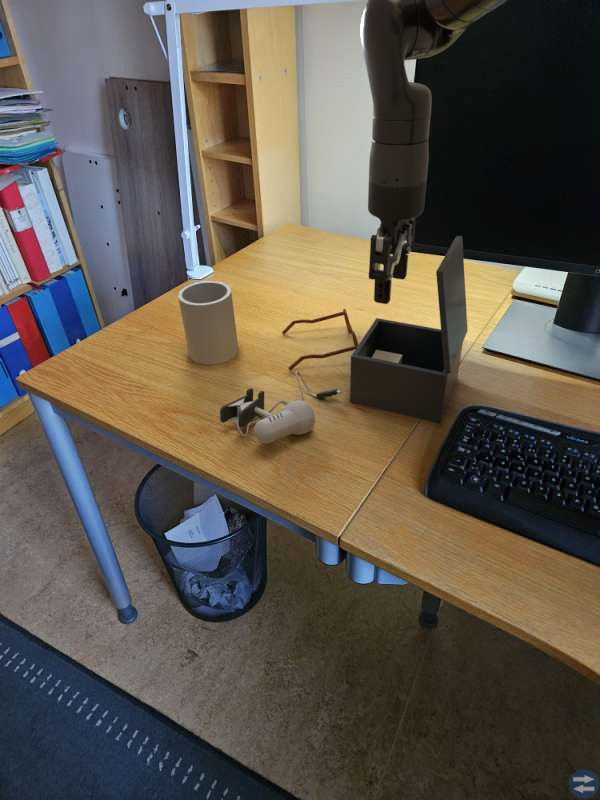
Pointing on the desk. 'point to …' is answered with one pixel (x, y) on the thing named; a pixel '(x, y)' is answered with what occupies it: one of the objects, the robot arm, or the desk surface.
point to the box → (403, 371)
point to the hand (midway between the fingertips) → (390, 289)
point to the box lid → (452, 302)
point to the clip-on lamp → (273, 427)
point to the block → (388, 356)
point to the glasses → (329, 352)
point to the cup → (209, 322)
